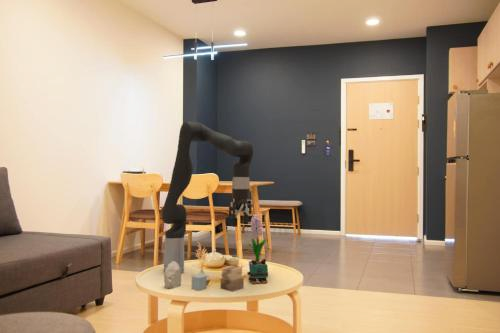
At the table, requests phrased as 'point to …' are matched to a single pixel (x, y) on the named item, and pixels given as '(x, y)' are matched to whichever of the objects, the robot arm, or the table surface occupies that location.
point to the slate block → (199, 282)
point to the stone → (172, 275)
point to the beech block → (232, 273)
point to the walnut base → (231, 284)
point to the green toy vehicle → (258, 272)
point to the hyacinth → (257, 231)
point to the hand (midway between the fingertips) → (240, 225)
